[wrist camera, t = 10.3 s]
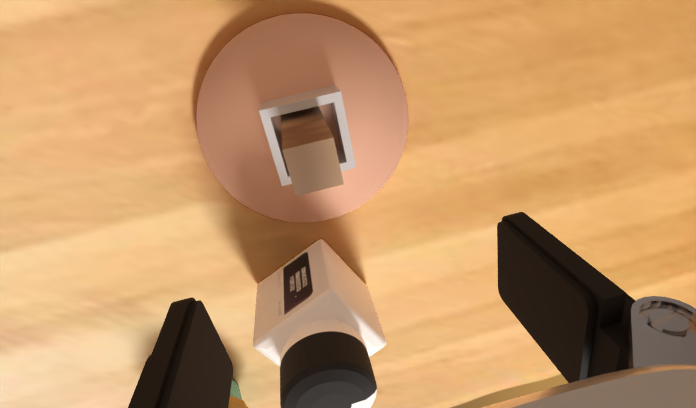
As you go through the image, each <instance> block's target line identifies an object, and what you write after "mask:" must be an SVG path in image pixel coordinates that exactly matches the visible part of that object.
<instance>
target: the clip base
mask: <svg viewBox="0 0 696 408" xmlns="http://www.w3.org/2000/svg"><path fill="white" fill-rule="evenodd" d="M316 106H319V108H320V110H321V113H322V115H323V117H324V119H325V121H326V123H327V125H328V127H329V129H330V131H331V133H332V135H333V137H334V141H335V146H336V150H337V155H338V160H339V164H340V169H341V173H342V178H343V182H344V184H343V185H339V186H335V187H331V188H327V189H323V190H319V191H315V192H311V193H307V194H303V195H299V196H295V192H294V189H293V185H292V182H291V178H290V175H289V171H288V168H287V164H286V161H285V158H284V154H283V151H282V131H281V115H283V114H287V113H291V112H295V111H299V110H304V109H308V108H312V107H316ZM196 121H197V132H198V138H199V143H200V146H201V149H202V152H203V155H204V158H205V160H206V162H207V164H208V166H209V168H210V170H211V171H212V173H213V174H214V176H215V177H216V179H217V180H218V181H219V183H220V184H221V185H222V186H223V187H224V189H225V190H226V191H227V192H229V193H230V194H231V195H232V196H233V197H234V198H235V199H236V200H238V201H239V202H241V203H242V204H243V205H245V206H246V207H248V208H250V209H252V210H253V211H255V212H257V213H260V214H262V215H265V216H267V217H270V218H274V219H277V220H281V221H287V222H296V223H310V222H320V221H325V220H330V219H333V218H336V217H339V216H342V215H344V214H346V213H349V212H351V211H353V210H355V209H356V208H358V207H360V206H361V205H363V204H364V203H366V202H367V201H368V200H369V199H371V198H372V197H373V196H374V195H375V194H376V193H377V192H378V191H379V190H380V189H381V188H382V187H383V186H384V185H385V183H386V182H387V181H388V180H389V178H390V177H391V175H392V174H393V172H394V170H395V169H396V167H397V165H398V163H399V160H400V158H401V156H402V153H403V150H404V147H405V143H406V138H407V133H408V105H407V100H406V95H405V91H404V88H403V85H402V82H401V79H400V77H399V75H398V73H397V71H396V69H395V67H394V65H393V64H392V62H391V61H390V59H389V58H388V56H387V55H386V54H385V53H384V51H383V50H382V49H381V48H380V47H379V46H378V45H377V44H376V43H375V42H374V41H373V40H372V39H371V38H369V37H368V36H367V35H366V34H364V33H363V32H361V31H360V30H358V29H357V28H355V27H354V26H351V25H349V24H347V23H345V22H343V21H341V20H338V19H334V18H331V17H328V16H324V15H317V14H311V13H293V14H286V15H279V16H275V17H272V18H269V19H265V20H262V21H260V22H258V23H256V24H254V25H252V26H250V27H248V28H246V29H245V30H243V31H242V32H240V33H239V34H237V35H236V36H235V37H234V38H233V39H232V40H231V41H229V42H228V43H227V44H226V45H225V46H224V47H223V48H222V50H221V51H220V52H219V53H218V55H217V56H216V57H215V58H214V60H213V62H212V63H211V65H210V67H209V68H208V70H207V72H206V75H205V77H204V80H203V82H202V84H201V88H200V92H199V96H198V101H197V111H196Z"/></svg>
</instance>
